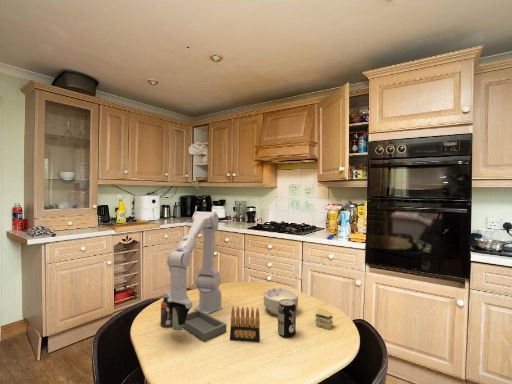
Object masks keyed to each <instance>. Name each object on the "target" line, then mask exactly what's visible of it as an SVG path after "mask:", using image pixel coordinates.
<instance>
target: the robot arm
mask: <svg viewBox="0 0 512 384" xmlns="http://www.w3.org/2000/svg"><path fill="white" fill-rule="evenodd" d="M191 218H192V220H191V221H192V224H191V226H190V228H189V231H188V233H187V235H183V237H182V238H181V240H180V241H179V242H178V245H177V246H176V248H175V250H173V251H170V252H169V253H168V255H167V260H166V263H167V266H168V272H169V274H170V283H169V284H170V287H169V288H170V290H169V291H166V292H165V295H166V298H169V299H167V301H166V304H167V306H168V308H169V311H170V314H171V318H172V321H173V308H174V307H175V309H176V311H177V315H178V324H179V325H183V324H185V321H186V317H187V314H188V313H189V311H190V309H191V308H193V301H192V300H191V299H190V298H189V297H188V293H187V291H188V290H187V289H188V287H187V286H188V285H187V284H188V266H189V265H190V263H191V259H192V252H193V251H194V249H195V247H196V245H197V240H196V239H197V238H198V237H199V235H200V234H201V232H203V242H202V263H201V266H202V267H201V268H200V269H198V270H197V271H196V275H195V276H196V277H195V281H194V285H195V287H196V288H197V290H198V291H199V294H198V295H199V296H198V297H199V301H198V303H199V304H198V305H199V306H198V307H195V308H194V309H195V311H196V310H200V311H202V312H204V313H206V314H208V315H209V314H211V313H214V312H217V311H219V310H222V309H223V307H222V291H221V289H220V288H219V287H220V284H221V277H220V271H219V270H217V269H216V268H215V267H214V263H215V262H214V261H215V239H216V238H215V236H216V231H218V229H219V215H218V213H217V212H216V211H197V210H195V212H194V213H193V215H192V217H191Z"/></svg>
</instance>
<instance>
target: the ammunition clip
mask: <svg viewBox="0 0 512 384" xmlns="http://www.w3.org/2000/svg"><path fill="white" fill-rule="evenodd" d="M259 310H260V309H259V307H257V308H256V309H255V310H254V307H252V306H251V309H249V307H248V306H247V307H246V309H245V308H244V306H242V307H241V310H240V307H239V306H237V307H236V312H235V307H234V305H232V307H231V312H230V313H231V314H230V315H231V316H230V327H229V329H230V330H229V341H231V342H232V341H233V342H235V341H236V342H249V343H260V342H261V333H260V332H261V329H260V327H261V326H260V323H261V322H260V320H261V319H260V311H259Z"/></svg>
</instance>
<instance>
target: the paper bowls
mask: <svg viewBox="0 0 512 384" xmlns="http://www.w3.org/2000/svg"><path fill="white" fill-rule="evenodd" d="M282 299H290V300H293V301H294V302H295V305H296V309H297V308H298V306H299V295H298V293H297V292H296V291H295V290H293V289H290V288H285V287H272V288H269V289H267V290H265V291H264V293H263V306H264V307H265V308H266V309H268V311H269V312H270V313H271V314H273V315H276V316H278V305H279V301H280V300H282Z"/></svg>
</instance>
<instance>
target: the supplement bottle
mask: <svg viewBox="0 0 512 384" xmlns="http://www.w3.org/2000/svg"><path fill="white" fill-rule="evenodd" d="M167 299H169V298H166V294H164V295H163V300H162V301H161V302H160V326H161V327H164V328H165V327H166V328H170V327H173V321H172V318H171V314H170V311H169V308H168V306H167V304H166V301H167Z"/></svg>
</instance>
